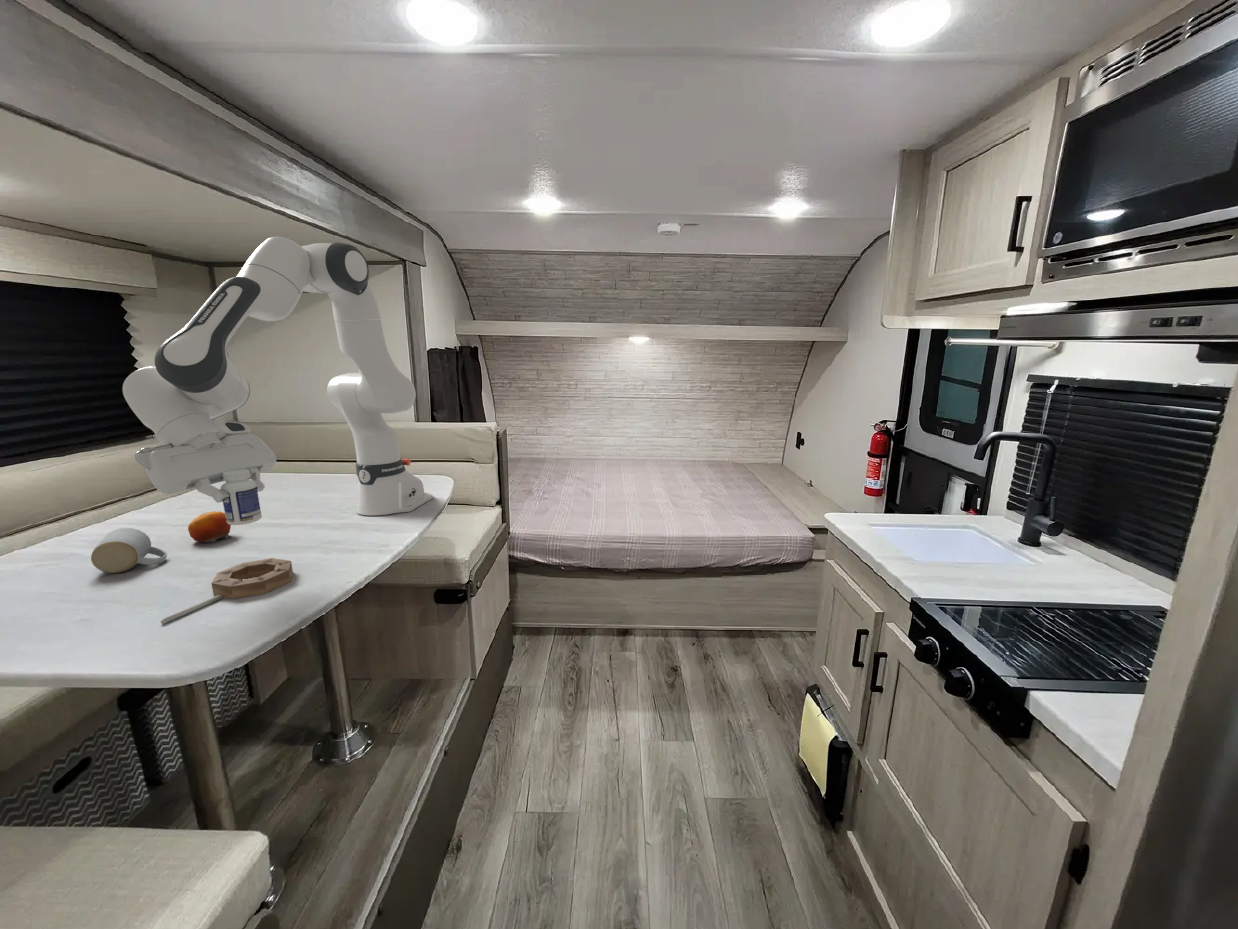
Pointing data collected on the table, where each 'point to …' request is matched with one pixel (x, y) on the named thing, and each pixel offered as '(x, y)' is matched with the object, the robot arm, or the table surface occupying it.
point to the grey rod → (190, 609)
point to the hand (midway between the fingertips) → (242, 494)
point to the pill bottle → (241, 498)
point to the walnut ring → (235, 587)
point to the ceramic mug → (125, 551)
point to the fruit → (209, 527)
